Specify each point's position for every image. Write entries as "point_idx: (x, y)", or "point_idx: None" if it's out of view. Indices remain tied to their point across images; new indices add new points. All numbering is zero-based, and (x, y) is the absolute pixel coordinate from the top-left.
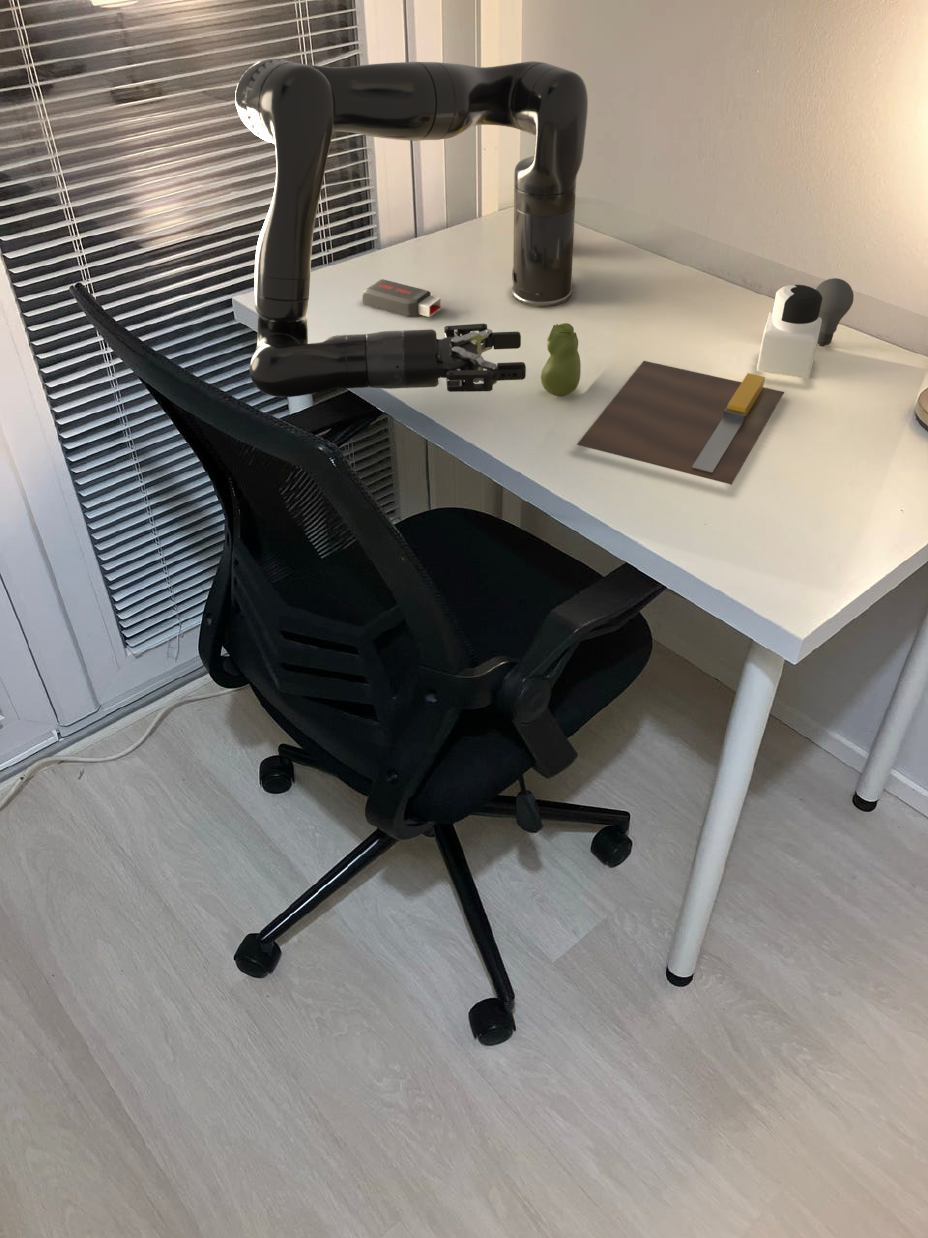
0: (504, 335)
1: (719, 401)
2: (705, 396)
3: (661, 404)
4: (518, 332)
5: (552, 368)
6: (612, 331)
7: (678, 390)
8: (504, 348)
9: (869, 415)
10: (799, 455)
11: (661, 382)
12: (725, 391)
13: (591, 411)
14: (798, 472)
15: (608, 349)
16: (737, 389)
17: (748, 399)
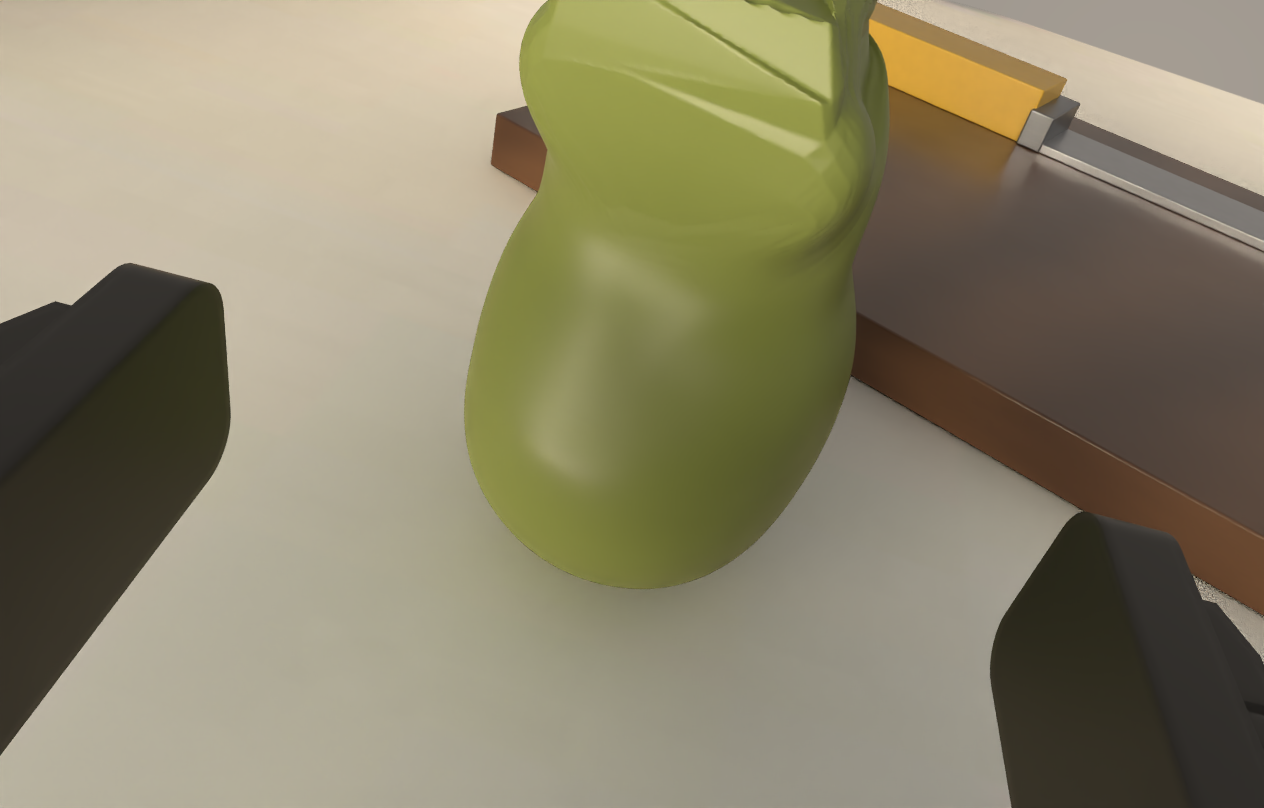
0: (73, 436)
1: (909, 114)
2: None
3: (935, 220)
4: (154, 271)
5: (811, 379)
6: (4, 89)
7: None
8: (109, 610)
9: (916, 15)
10: None
11: None
12: None
13: (879, 465)
14: (1248, 184)
15: (188, 165)
16: (926, 43)
17: (1001, 54)
